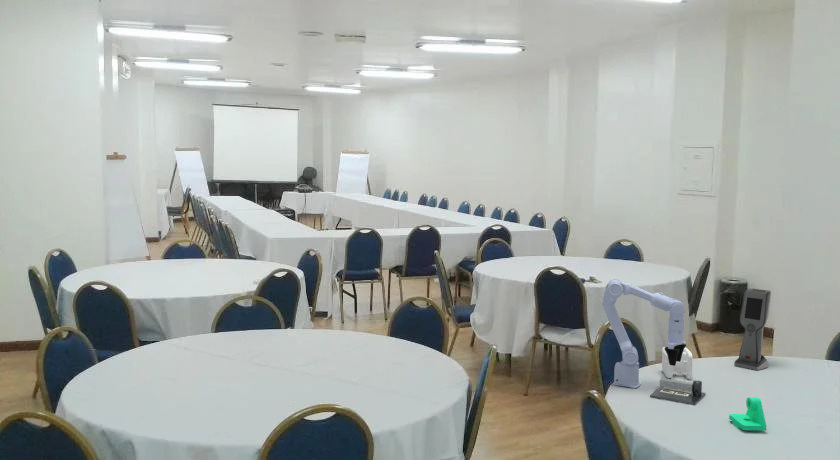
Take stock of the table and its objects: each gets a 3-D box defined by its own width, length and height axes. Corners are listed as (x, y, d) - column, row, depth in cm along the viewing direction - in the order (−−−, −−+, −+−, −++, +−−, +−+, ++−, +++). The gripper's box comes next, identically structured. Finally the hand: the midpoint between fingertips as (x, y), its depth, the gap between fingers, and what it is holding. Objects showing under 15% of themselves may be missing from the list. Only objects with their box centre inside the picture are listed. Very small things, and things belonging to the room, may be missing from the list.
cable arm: (702, 394, 270) (702, 381, 269) (700, 396, 267) (700, 383, 267) (661, 387, 279) (662, 375, 278) (659, 389, 276) (659, 376, 276)
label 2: (674, 394, 270) (674, 393, 270) (677, 391, 274) (677, 390, 274) (687, 396, 267) (687, 395, 267) (690, 393, 271) (690, 392, 271)
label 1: (659, 392, 273) (659, 391, 273) (663, 389, 277) (663, 388, 277) (672, 394, 270) (672, 393, 270) (676, 391, 274) (676, 390, 274)
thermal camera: (772, 366, 315) (774, 290, 313) (758, 371, 307) (760, 293, 305) (747, 361, 324) (749, 287, 322) (732, 365, 317) (735, 290, 314)
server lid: (649, 397, 269) (649, 395, 269) (661, 387, 282) (661, 385, 282) (695, 405, 259) (695, 403, 259) (705, 394, 272) (705, 392, 272)
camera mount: (728, 421, 242) (728, 392, 242) (749, 421, 242) (750, 392, 242) (743, 433, 230) (744, 403, 230) (766, 433, 230) (767, 403, 230)
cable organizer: (692, 381, 291) (693, 354, 290) (666, 380, 293) (667, 353, 292) (685, 372, 306) (685, 346, 305) (660, 371, 308) (661, 345, 307)
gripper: (681, 334, 271) (680, 368, 272) (690, 328, 283) (689, 361, 284) (663, 332, 275) (662, 365, 276) (673, 326, 287) (672, 358, 288)
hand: (675, 363), depth 281 cm, fingers open, 7 cm apart
